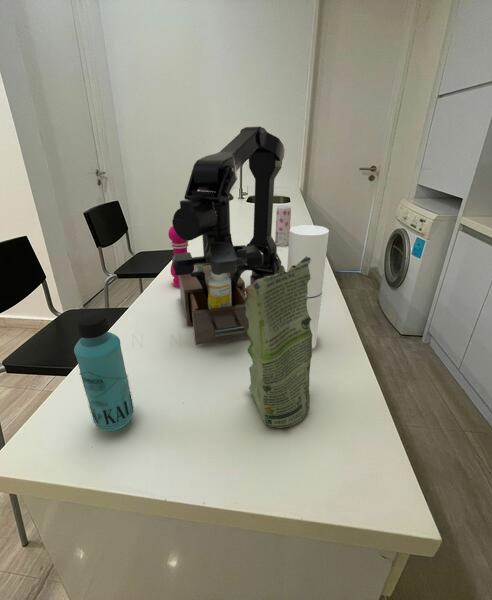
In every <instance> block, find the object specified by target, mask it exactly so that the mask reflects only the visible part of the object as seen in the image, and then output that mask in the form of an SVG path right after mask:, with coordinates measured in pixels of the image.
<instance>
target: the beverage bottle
mask: <svg viewBox="0 0 492 600" xmlns="http://www.w3.org/2000/svg"><path fill="white" fill-rule="evenodd" d="M75 322H76V323H75V324H76V328H77V329H76V331H77V335H78V336H79V337H80V338H79V340H78V341H77V343H76V344H75V346H74V348H73V353H74V355H75V357H76V362H77V366H78V369H79V374H78V375H79V376H80V378H81V382H82V384H83V391H84V393H85V396H86V398H87V406H88V410H89V413H90V417H91V418H92V419H91V420H92V422H93V424H94V426H95V427H97V429H99V430H101V431H104V432H112V431H113V432H114V431H117V430H120V429H122V428H123V427H125V426H126V425H128V424H129V422H130V421H132V418H133V416H134V413H135V408H134V406H135V405H134V403H133V402H134V400H133V398H132V391H131V387H130V384H131V383H130V382H129V375H128V373H127V370H126V366H125V361H124V356H123V351H122V346H121V339H120V338H119V336H118V335H116V334H115V333H113V332H110V331H109V330H110V328H111V327H110V323H109V321H108V319H107V315H106V314H105V313H104V312H101V311H92V312H87V313H85V314H82V315H81V316H79V317H78V318H77V319H76V321H75Z"/></svg>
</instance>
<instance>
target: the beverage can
mask: <svg viewBox="0 0 492 600" xmlns="http://www.w3.org/2000/svg"><path fill="white" fill-rule="evenodd" d="M291 216H292V207H291V205H277V207H276V216H275V218H276V220H275V236H274V237H275V239H274V242H275V244H276V246H278V247H279V246H280V247H285V246H289V230H290V228H291V218H292V217H291Z"/></svg>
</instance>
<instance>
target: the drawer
mask: <svg viewBox="0 0 492 600" xmlns="http://www.w3.org/2000/svg"><path fill="white" fill-rule="evenodd" d="M245 298H246V294H245V295H244V294H243V292H242V290H241V289H240V287H236V288H235V291H234V294H233V295H231V300H232V306H228V307H220V308H213V309H209V307H208V298H206V296H205V294H204V291H200V292H192V293H189V303H190V314H191V318H192V321H193V325H192V326H193V335H194V337H193V338H194V344H195V346H198V345H199V346H201V345H205V344H206V345H207V344H210V343H211V344H213V343H218V342H226V341H231V340H232V341H233V340H238V339H244V338H250V337H249V336H248V334H247V329H248V327H249V320H248V318H247V317H246V315H245V313H246V307H245V305H244V301H245Z"/></svg>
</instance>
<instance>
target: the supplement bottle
mask: <svg viewBox="0 0 492 600" xmlns="http://www.w3.org/2000/svg"><path fill="white" fill-rule="evenodd" d="M209 274H210V276H209V277H208V278H207V290H208V307H209V309H213V308H220V307H228V306H232V300H231V279H230V277H229V276H228V275H227V274H228V273H223V274H221V275H215V274H213V272H212V268H211V267H210V268H209Z"/></svg>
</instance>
